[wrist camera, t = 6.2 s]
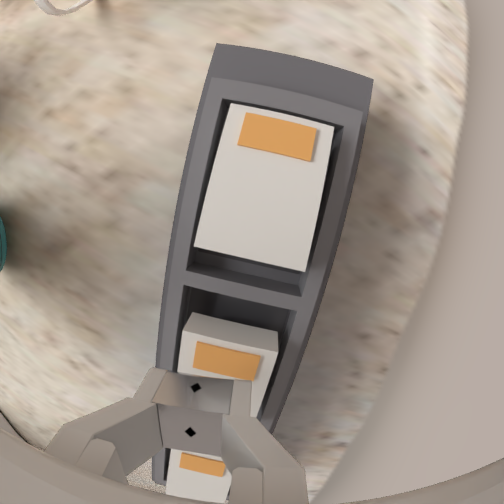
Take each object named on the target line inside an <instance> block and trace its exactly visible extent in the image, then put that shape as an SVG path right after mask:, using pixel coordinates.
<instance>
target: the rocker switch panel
mask: <svg viewBox="0 0 504 504" xmlns="http://www.w3.org/2000/svg"><path fill="white" fill-rule="evenodd" d="M373 80H374V79H371V78H368V77H366V76H363V75H360V74H357V73H354V72H351V71H347V70H344V69H341V68H338V67H334V66H331V65H327V64H324V63H320V62H316V61H312V60H308V59H304V58H300V57H296V56H292V55H287V54H282V53H277V52H272V51H267V50H261V49H255V48H249V47H242V46H235V45H227V44H219V43H216V47H215V50H214V53H213V56H212V60H211V63H210V66H209V70H208V73H207V77H206V80H205V84H204V88H203V91H202V95H201V99H200V102H199V106H198V110H197V114H196V118H195V122H194V126H193V130H192V134H191V139H190V143H189V147H188V152H187V156H186V161H185V165H184V170H183V175H182V180H181V185H180V190H179V195H178V200H177V205H176V211H175V216H174V222H173V228H172V234H171V240H170V246H169V253H168V259H167V266H166V273H165V280H164V288H163V296H162V304H161V313H160V322H159V332H158V342H157V353H156V366H155V368H160V369H165V370H171V371H176V372H177V370H178V362H179V354H180V346H181V338H182V331H183V329H184V327H185V325H186V323H187V321H188V319H189V318H190V316H191V314H192V312H194V313H198V314H202V315H206V316H210V317H214V318H219V319H223V320H227V321H231V322H236V323H240V324H244V325H249V326H253V327H258V328H263V329H267V330H272V331H277V332H278V355H277V358H276V361H275V364H274V367H273V370H272V373H271V376H270V379H269V382H268V385H267V388H266V391H265V394H264V397H263V400H262V403H261V406H260V408H259V411H258V414H257V417H256V418H257V419H258V420H259V422H260V423H261V424H262V425H263V426H264V427H265V428H266V429H267V430H268V431H269V432H270V434H271V435H272V433H273V431H274V428H275V426H276V423H277V421H278V419H279V416H280V414H281V411H282V409H283V406H284V404H285V401H286V399H287V396H288V394H289V391H290V389H291V386H292V384H293V381H294V378H295V376H296V373H297V370H298V368H299V365H300V362H301V359H302V357H303V354H304V351H305V348H306V345H307V343H308V340H309V337H310V334H311V331H312V328H313V325H314V322H315V319H316V316H317V313H318V310H319V307H320V304H321V301H322V297H323V294H324V291H325V288H326V284H327V281H328V278H329V275H330V271H331V268H332V264H333V261H334V257H335V254H336V250H337V247H338V243H339V240H340V236H341V232H342V228H343V225H344V221H345V217H346V213H347V209H348V205H349V201H350V197H351V193H352V188H353V184H354V180H355V175H356V171H357V166H358V162H359V157H360V152H361V148H362V143H363V138H364V133H365V127H366V122H367V116H368V111H369V105H370V99H371V93H372V87H373ZM231 103H233V104H238V105H244V106H249V107H254V108H259V109H264V110H269V111H274V112H278V113H283V114H287V115H291V116H295V117H299V118H303V119H307V120H311V121H315V122H319V123H322V124H326V125H329V126H333V127H334V132H333V138H332V143H331V149H330V155H329V160H328V166H327V171H326V176H325V181H324V187H323V192H322V197H321V202H320V207H319V211H318V216H317V221H316V226H315V230H314V235H313V239H312V244H311V248H310V253H309V257H308V261H307V266H306V270H305V272H303V271H298V270H294V269H290V268H285V267H281V266H276V265H272V264H268V263H263V262H259V261H255V260H250V259H246V258H242V257H237V256H233V255H229V254H224V253H220V252H216V251H211V250H207V249H203V248H199V247H194V243H195V238H196V234H197V230H198V225H199V221H200V217H201V213H202V208H203V204H204V200H205V196H206V192H207V188H208V184H209V180H210V176H211V173H212V169H213V165H214V161H215V157H216V154H217V150H218V146H219V143H220V139H221V136H222V132H223V128H224V125H225V121H226V118H227V115H228V111H229V108H230V104H231ZM170 453H171V449H170V448H164V447H163V449H162V450H161V451H159V452H158V453H157V454H155V455H154V456H153V457H152V480H153V481H155V483H157V484H160V485H164V486H166V483H167V475H168V467H169V460H170ZM230 487H231V485H230ZM229 495H230V488H229V491H228V494H227V497H226V500H229Z"/></svg>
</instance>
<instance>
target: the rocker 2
mask: <svg viewBox="0 0 504 504" xmlns="http://www.w3.org/2000/svg"><path fill="white" fill-rule="evenodd" d="M277 355H278V332H277V331H272V330H267V329H263V328H258V327H253V326H249V325H244V324H240V323H236V322H231V321H227V320H223V319H219V318H214V317H210V316H206V315H202V314H198V313H194V312H192V314H191V316H190V318H189V319H188V321H187V323H186V325H185V327H184V329H183V331H182V338H181V346H180V354H179V362H178V370H177V372H182V373H188V374H194V375H200V376H205V377H213V378H222V379H232V380H234V379H239V380H251V381H252V392H251V412H250V417H257V414H258V411H259V408H260V406H261V403H262V400H263V397H264V394H265V391H266V388H267V385H268V382H269V379H270V376H271V373H272V370H273V367H274V364H275V361H276V358H277Z"/></svg>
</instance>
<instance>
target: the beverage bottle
mask: <svg viewBox="0 0 504 504" xmlns="http://www.w3.org/2000/svg"><path fill="white" fill-rule="evenodd" d="M6 252H7V242H6V233H5V228H4V225H3V222H2V219H1V216H0V271H1V270H2V268H3V266H4V264H5V260H6Z"/></svg>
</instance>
